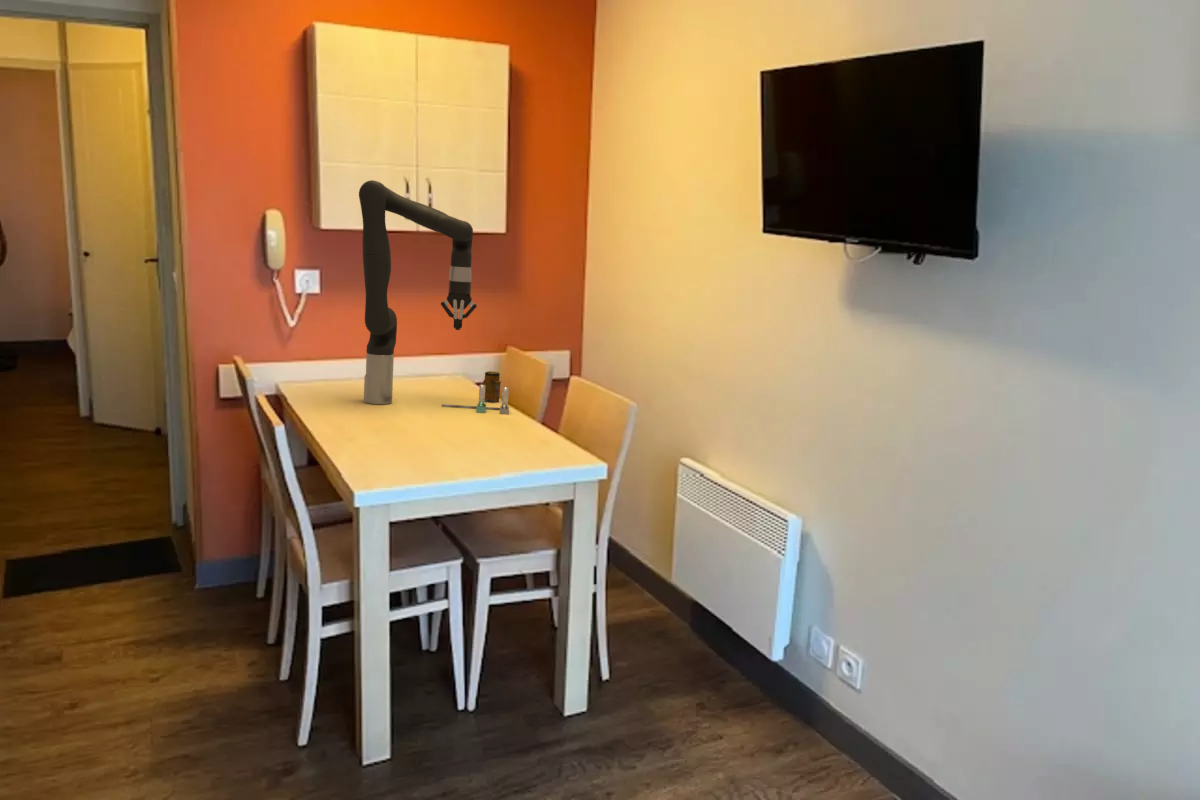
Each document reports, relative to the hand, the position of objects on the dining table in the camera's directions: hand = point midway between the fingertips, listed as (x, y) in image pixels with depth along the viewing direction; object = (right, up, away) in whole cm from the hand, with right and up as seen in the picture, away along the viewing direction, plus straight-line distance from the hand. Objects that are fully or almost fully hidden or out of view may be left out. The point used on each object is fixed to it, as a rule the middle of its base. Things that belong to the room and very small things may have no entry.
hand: (457, 329), depth 326 cm
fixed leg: (+17, -29, -7) cm, 34 cm away
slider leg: (+9, -28, -7) cm, 31 cm away
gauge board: (+7, -30, -9) cm, 32 cm away
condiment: (+11, -27, +10) cm, 31 cm away
